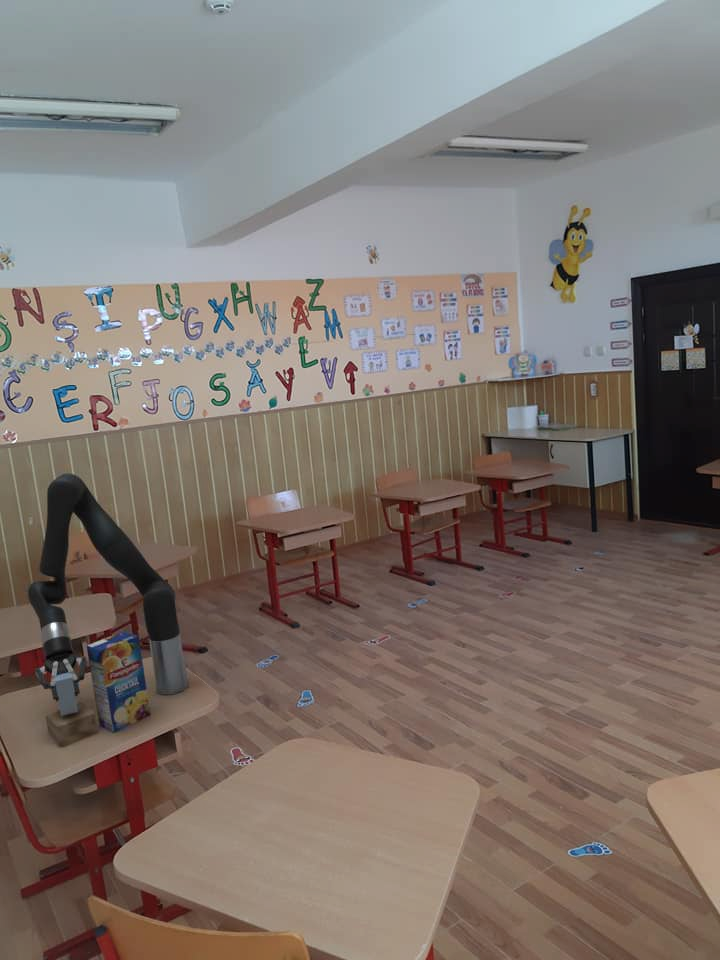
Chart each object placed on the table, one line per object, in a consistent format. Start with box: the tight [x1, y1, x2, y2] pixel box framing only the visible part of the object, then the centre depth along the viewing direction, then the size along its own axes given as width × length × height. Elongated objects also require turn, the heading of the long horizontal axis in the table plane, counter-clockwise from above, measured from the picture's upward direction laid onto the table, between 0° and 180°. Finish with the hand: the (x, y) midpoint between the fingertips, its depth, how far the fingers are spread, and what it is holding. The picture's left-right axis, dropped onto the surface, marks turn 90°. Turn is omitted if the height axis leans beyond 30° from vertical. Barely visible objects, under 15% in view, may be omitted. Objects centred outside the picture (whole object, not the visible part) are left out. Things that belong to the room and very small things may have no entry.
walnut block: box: [45, 702, 98, 748], centre depth 206 cm, size 10×10×6 cm
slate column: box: [54, 672, 78, 716], centre depth 205 cm, size 4×4×10 cm
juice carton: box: [86, 631, 151, 734], centre depth 210 cm, size 12×8×24 cm, turn 139°
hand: (67, 697), depth 203 cm, fingers closed on slate column, 4 cm apart
